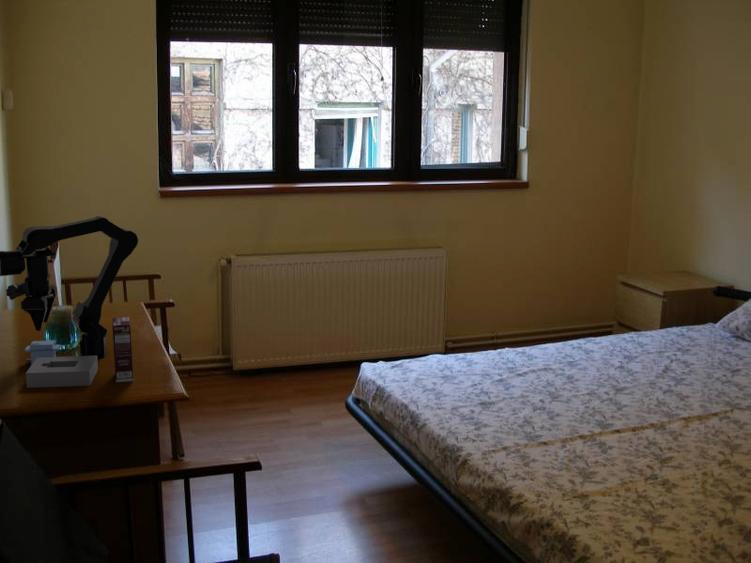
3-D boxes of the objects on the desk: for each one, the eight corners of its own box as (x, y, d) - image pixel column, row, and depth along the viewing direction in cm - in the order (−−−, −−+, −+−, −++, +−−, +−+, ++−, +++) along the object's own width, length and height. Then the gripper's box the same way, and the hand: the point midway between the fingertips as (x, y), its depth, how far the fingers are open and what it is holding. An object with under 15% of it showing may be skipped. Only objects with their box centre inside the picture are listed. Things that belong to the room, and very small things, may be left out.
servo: (61, 360, 258) (60, 340, 257) (59, 364, 254) (57, 344, 253) (28, 361, 257) (27, 341, 255) (25, 365, 253) (24, 345, 251)
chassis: (97, 369, 250) (97, 355, 249) (90, 385, 237) (89, 371, 236) (38, 371, 248) (37, 357, 247) (26, 387, 234) (25, 373, 233)
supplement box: (114, 373, 247) (111, 317, 244) (132, 371, 248) (130, 316, 245) (115, 383, 239) (112, 325, 236) (133, 381, 240) (131, 324, 237)
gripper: (15, 266, 258) (19, 318, 261) (-2, 280, 240) (3, 336, 243) (55, 265, 259) (59, 317, 263) (42, 279, 241) (46, 335, 245)
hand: (41, 326), depth 253 cm, fingers open, 9 cm apart
